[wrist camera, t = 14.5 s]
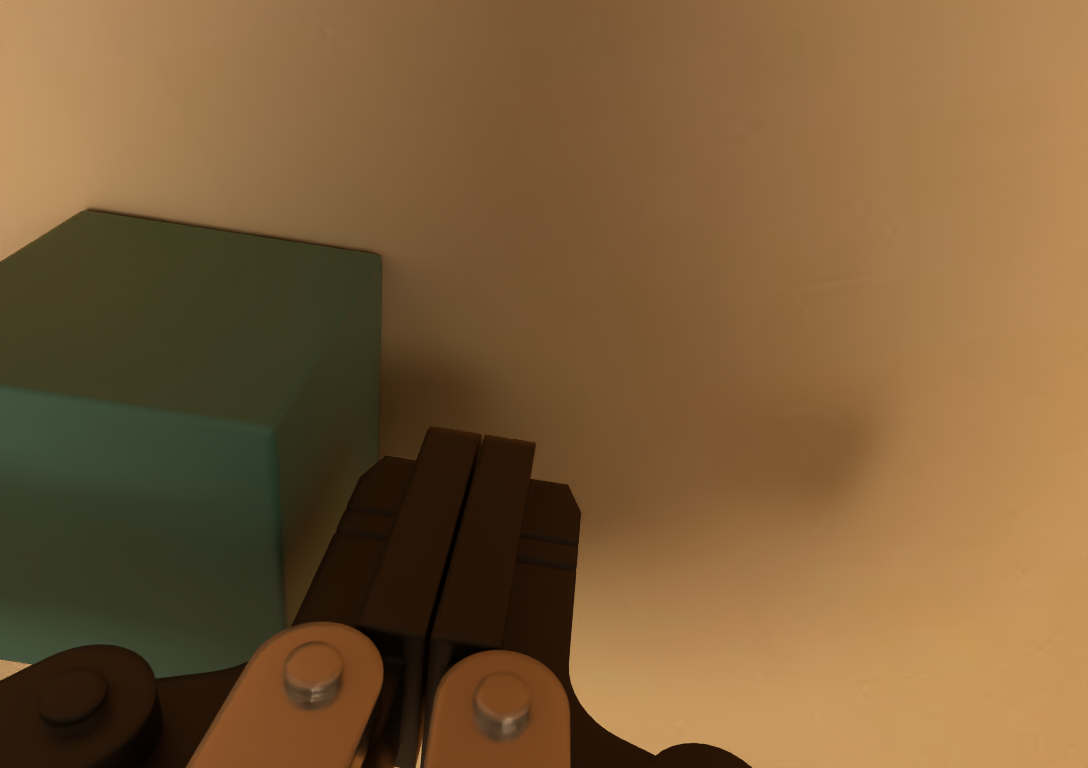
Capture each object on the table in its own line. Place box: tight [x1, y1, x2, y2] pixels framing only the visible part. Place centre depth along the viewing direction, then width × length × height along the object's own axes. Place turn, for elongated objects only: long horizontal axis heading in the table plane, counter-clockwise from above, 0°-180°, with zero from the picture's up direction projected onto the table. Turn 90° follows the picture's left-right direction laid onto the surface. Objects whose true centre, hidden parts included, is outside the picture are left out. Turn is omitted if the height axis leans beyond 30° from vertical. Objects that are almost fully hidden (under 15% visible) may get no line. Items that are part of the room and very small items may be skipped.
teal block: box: [0, 210, 382, 678], centre depth 12 cm, size 5×5×5 cm
